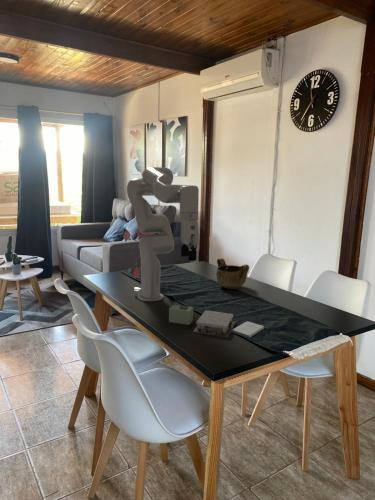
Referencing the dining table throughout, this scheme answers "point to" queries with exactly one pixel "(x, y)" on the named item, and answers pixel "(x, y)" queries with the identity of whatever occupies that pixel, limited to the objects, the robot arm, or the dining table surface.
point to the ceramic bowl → (231, 274)
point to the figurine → (127, 235)
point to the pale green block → (181, 314)
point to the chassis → (215, 324)
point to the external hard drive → (247, 329)
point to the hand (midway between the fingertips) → (188, 258)
